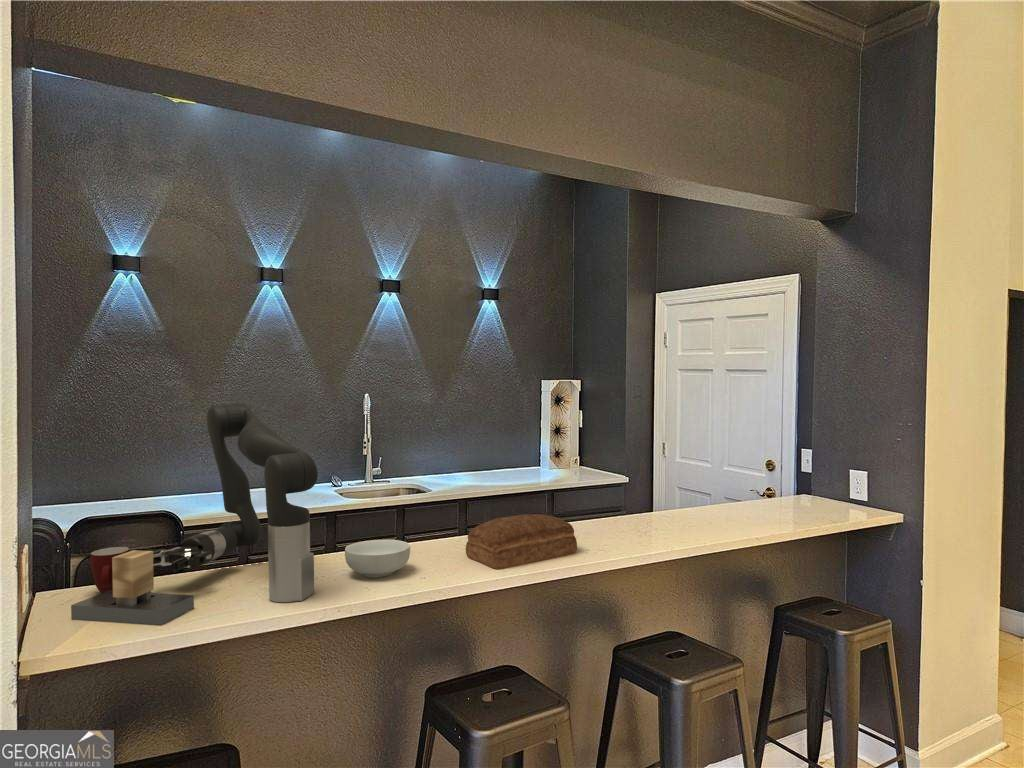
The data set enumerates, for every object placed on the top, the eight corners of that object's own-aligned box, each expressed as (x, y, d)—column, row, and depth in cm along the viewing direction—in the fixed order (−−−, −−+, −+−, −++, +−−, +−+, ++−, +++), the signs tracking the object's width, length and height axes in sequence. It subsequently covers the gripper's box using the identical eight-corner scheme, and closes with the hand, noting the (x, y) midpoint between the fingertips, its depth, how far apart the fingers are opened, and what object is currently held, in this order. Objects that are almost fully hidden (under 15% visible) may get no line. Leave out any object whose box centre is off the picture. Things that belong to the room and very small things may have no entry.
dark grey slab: (193, 608, 146) (193, 595, 146) (161, 625, 136) (161, 610, 136) (108, 603, 150) (108, 590, 150) (71, 619, 141) (71, 605, 141)
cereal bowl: (420, 575, 169) (420, 548, 168) (357, 587, 160) (356, 558, 160) (396, 560, 183) (396, 535, 183) (337, 570, 175) (336, 543, 174)
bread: (462, 558, 186) (461, 517, 186) (545, 542, 202) (545, 505, 202) (495, 572, 172) (494, 528, 171) (581, 554, 188) (581, 514, 188)
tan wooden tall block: (154, 609, 146) (153, 551, 146) (133, 619, 140) (132, 558, 140) (134, 608, 147) (133, 550, 147) (113, 618, 141) (112, 557, 141)
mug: (129, 597, 154) (128, 555, 154) (88, 603, 151) (87, 559, 151) (131, 585, 164) (130, 545, 164) (92, 590, 160) (92, 549, 160)
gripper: (177, 532, 167) (128, 548, 151) (227, 534, 165) (183, 551, 149) (177, 562, 167) (129, 581, 151) (228, 564, 165) (184, 584, 149)
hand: (156, 566), depth 150 cm, fingers open, 8 cm apart
